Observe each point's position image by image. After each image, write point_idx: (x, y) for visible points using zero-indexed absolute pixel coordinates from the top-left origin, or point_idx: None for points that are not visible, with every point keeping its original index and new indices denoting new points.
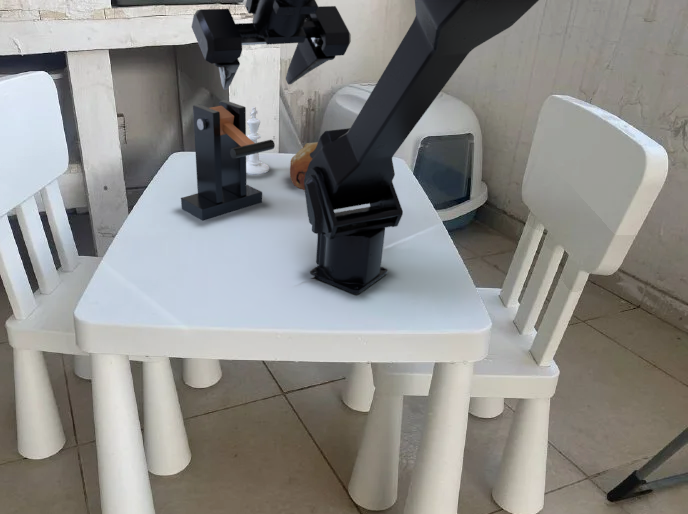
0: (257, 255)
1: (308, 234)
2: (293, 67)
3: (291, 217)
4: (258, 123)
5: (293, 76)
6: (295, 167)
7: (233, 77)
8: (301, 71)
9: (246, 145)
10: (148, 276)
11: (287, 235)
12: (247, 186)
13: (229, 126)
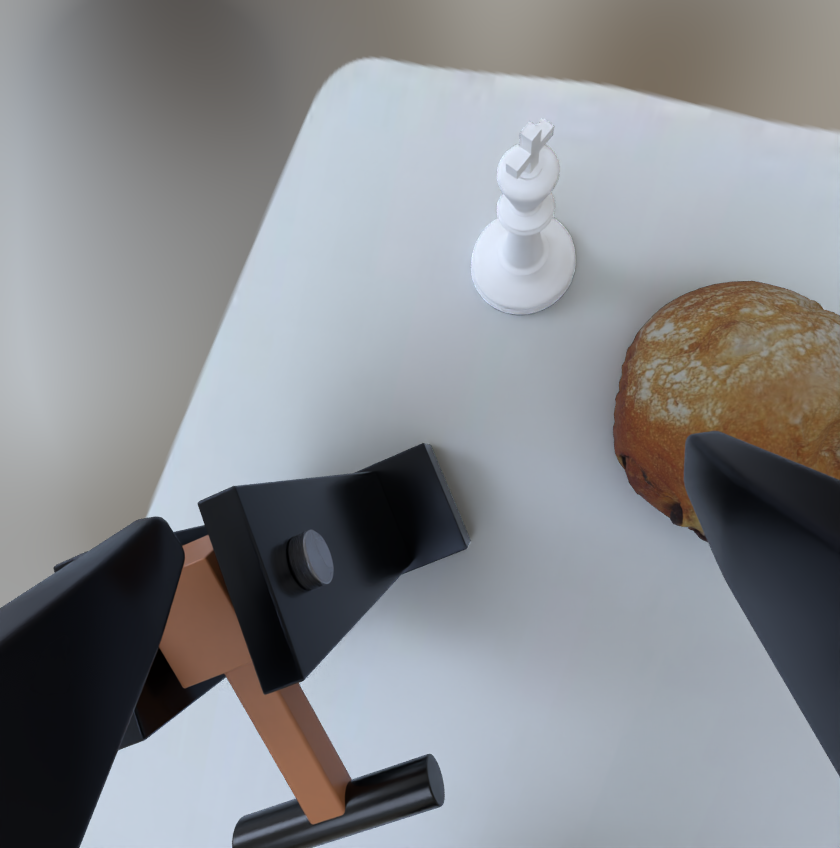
0: (371, 842)
1: (540, 778)
2: (789, 593)
3: (529, 650)
4: (543, 196)
5: (740, 593)
6: (629, 432)
7: (92, 809)
8: (836, 766)
9: (297, 838)
10: (129, 839)
11: (480, 761)
12: (434, 491)
13: (244, 687)
